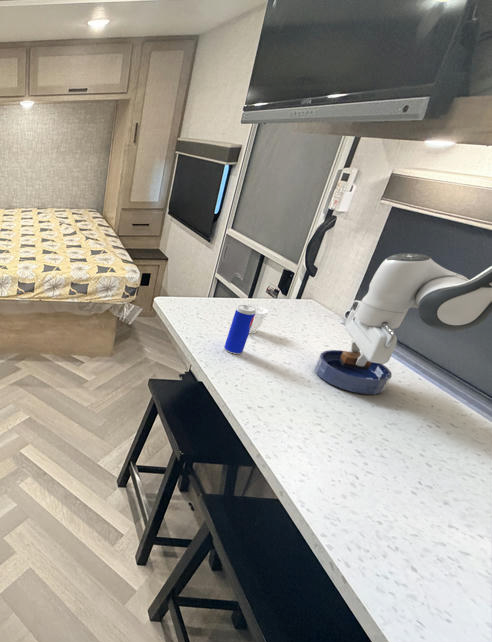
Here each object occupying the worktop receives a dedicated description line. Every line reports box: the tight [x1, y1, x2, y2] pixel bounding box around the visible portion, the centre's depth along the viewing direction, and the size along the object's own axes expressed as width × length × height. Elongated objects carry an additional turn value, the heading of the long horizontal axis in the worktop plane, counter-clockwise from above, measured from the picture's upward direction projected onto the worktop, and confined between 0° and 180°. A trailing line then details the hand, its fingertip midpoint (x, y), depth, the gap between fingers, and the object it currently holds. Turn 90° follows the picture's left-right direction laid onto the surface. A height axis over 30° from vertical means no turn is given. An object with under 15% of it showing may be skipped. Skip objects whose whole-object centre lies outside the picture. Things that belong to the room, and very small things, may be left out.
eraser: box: [339, 350, 372, 370], centre depth 109 cm, size 6×4×3 cm, turn 66°
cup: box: [248, 304, 269, 334], centre depth 134 cm, size 7×10×8 cm
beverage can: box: [224, 304, 256, 355], centre depth 122 cm, size 5×5×15 cm
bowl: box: [314, 349, 393, 395], centre depth 110 cm, size 15×15×5 cm
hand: (355, 360), depth 109 cm, fingers closed on eraser, 3 cm apart
